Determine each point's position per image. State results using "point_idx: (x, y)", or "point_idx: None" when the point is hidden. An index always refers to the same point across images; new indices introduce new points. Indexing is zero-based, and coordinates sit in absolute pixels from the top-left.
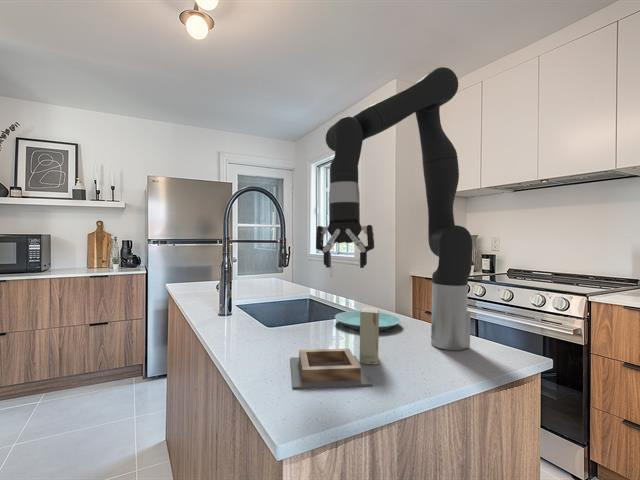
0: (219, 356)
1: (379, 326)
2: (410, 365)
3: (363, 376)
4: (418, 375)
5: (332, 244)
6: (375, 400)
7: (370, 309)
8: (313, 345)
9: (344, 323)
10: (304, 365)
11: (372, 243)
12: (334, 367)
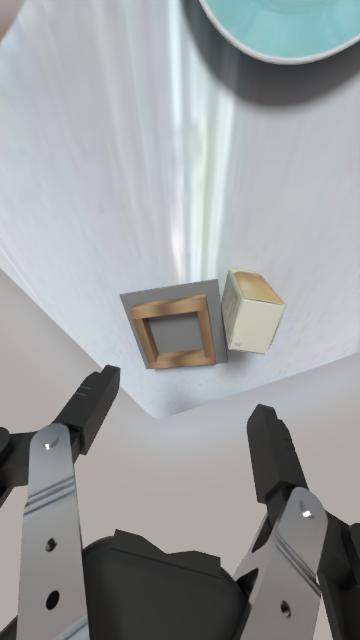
0: (24, 291)
1: (331, 55)
2: (299, 304)
3: (220, 346)
4: (294, 335)
5: (79, 519)
6: (224, 383)
7: (258, 325)
8: (140, 221)
9: (208, 17)
10: (149, 359)
11: (355, 609)
12: (184, 363)
